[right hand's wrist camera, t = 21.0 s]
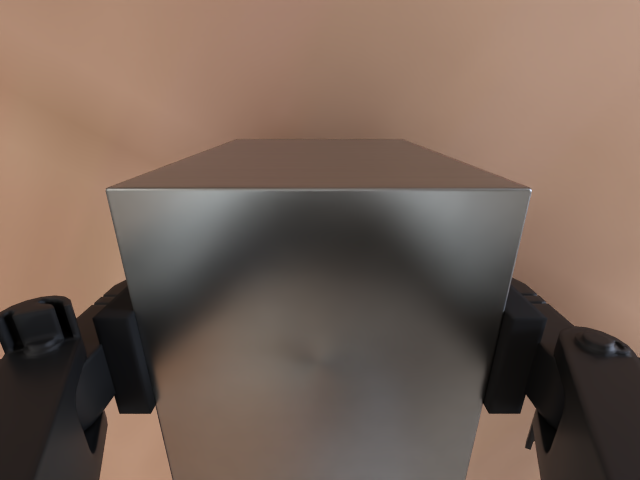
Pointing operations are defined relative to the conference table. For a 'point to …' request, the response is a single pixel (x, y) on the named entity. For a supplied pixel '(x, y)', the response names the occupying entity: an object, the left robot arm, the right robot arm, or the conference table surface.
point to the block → (318, 305)
